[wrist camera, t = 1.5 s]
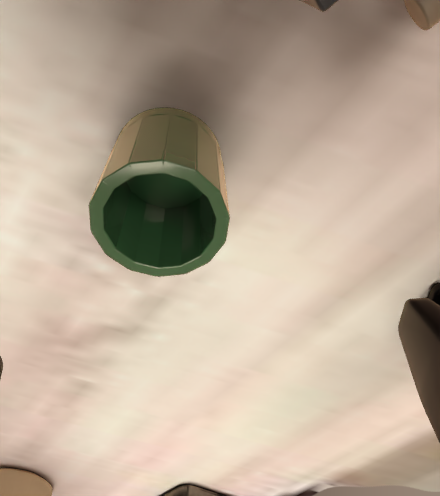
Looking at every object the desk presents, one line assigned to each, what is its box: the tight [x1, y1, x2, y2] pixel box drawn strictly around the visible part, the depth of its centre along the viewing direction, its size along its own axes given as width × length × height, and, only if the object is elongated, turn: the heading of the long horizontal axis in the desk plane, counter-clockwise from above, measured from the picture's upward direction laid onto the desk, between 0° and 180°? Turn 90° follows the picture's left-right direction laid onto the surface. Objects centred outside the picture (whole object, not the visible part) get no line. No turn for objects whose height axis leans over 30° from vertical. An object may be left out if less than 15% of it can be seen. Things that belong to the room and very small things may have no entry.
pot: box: [89, 107, 230, 277], centre depth 16 cm, size 5×5×6 cm
